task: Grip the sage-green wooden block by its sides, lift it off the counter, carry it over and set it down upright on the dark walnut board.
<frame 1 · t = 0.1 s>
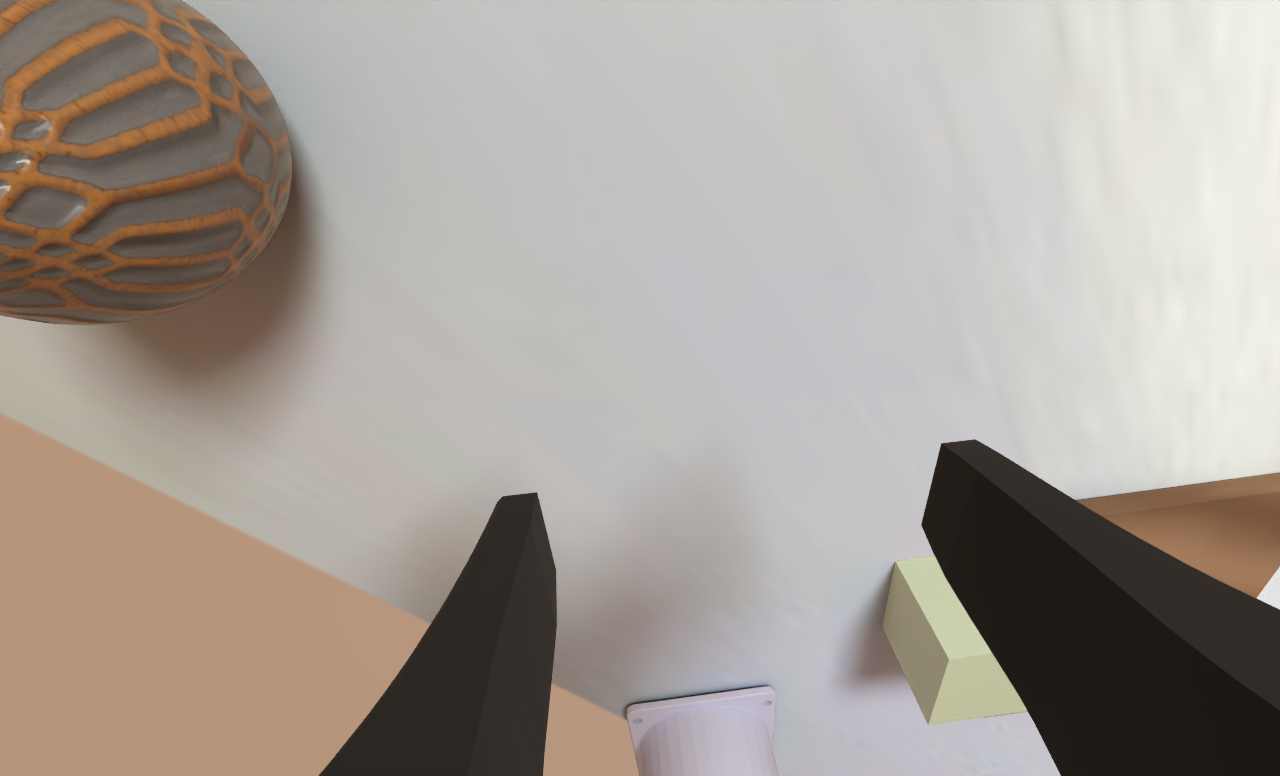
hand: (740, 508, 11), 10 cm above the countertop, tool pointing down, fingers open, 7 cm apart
sage block: (938, 587, 29), on the countertop
walnut board: (1121, 600, 31), on the countertop
vase: (189, 116, 16), on the countertop
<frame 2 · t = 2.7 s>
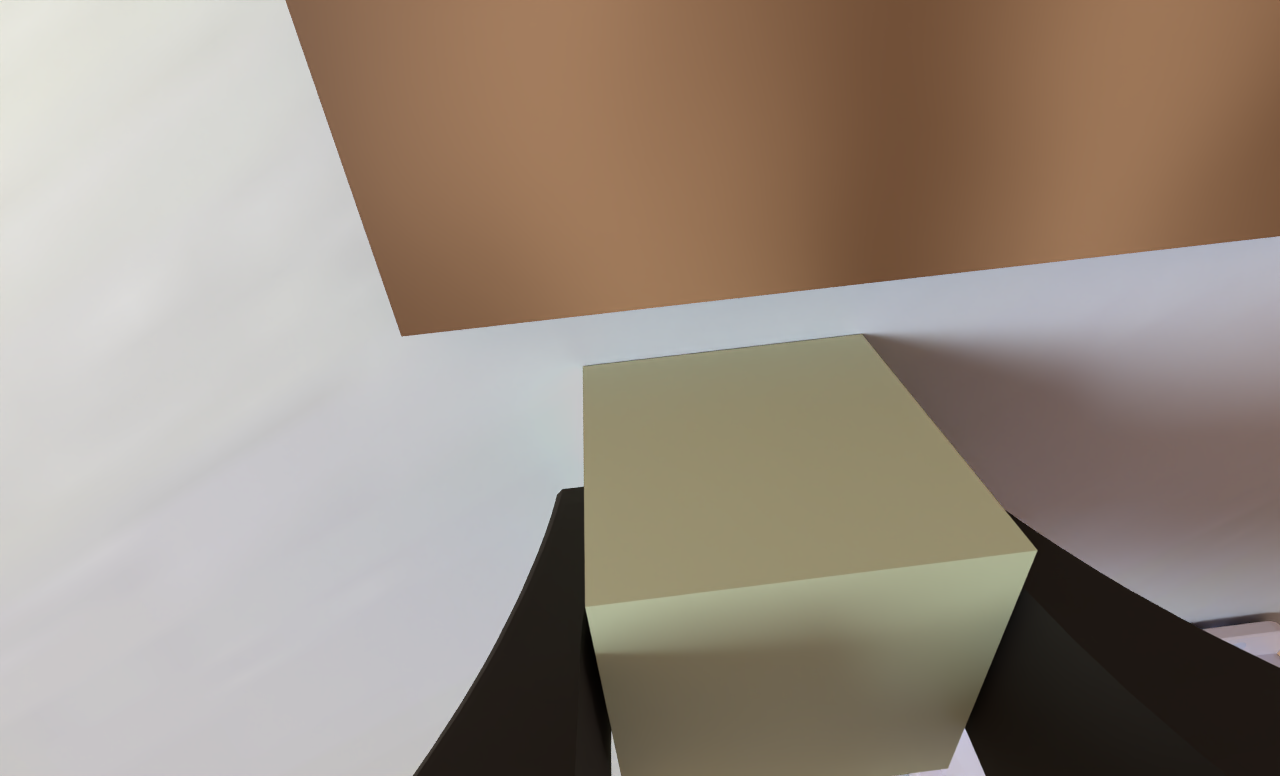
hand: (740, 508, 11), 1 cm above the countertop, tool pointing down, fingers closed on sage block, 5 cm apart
sage block: (724, 457, 12), on the countertop, touching gripper
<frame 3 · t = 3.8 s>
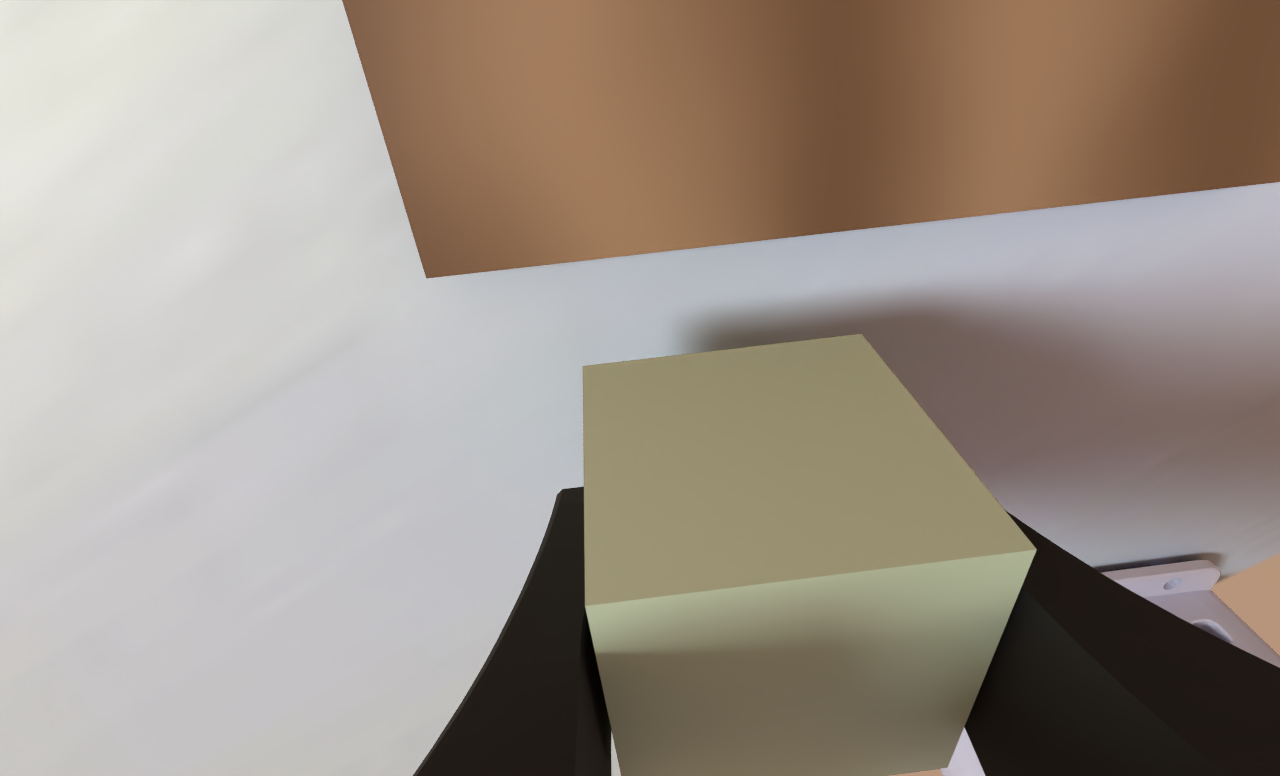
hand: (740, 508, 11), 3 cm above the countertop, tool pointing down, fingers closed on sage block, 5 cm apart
sage block: (723, 457, 12), point 2 cm above the countertop, touching gripper
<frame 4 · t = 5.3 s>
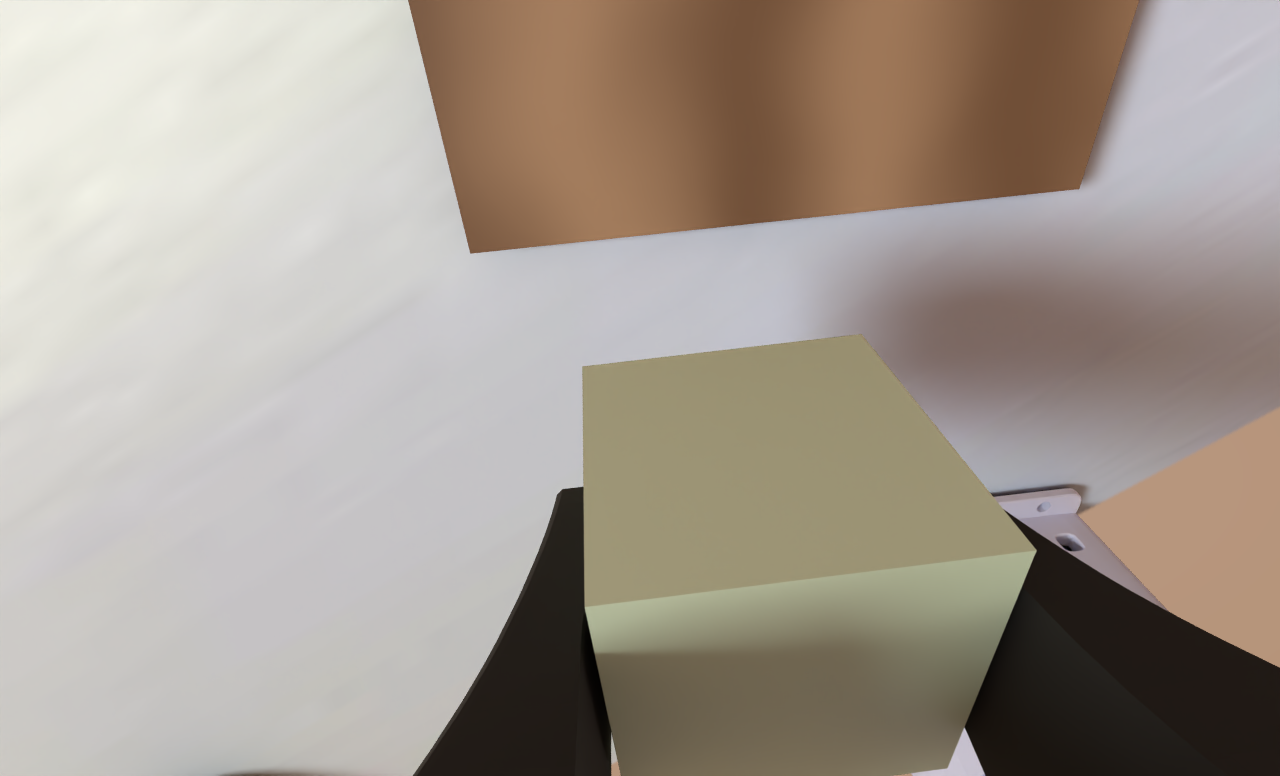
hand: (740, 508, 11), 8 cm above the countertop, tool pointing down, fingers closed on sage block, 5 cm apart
sage block: (723, 457, 12), point 7 cm above the countertop, touching gripper
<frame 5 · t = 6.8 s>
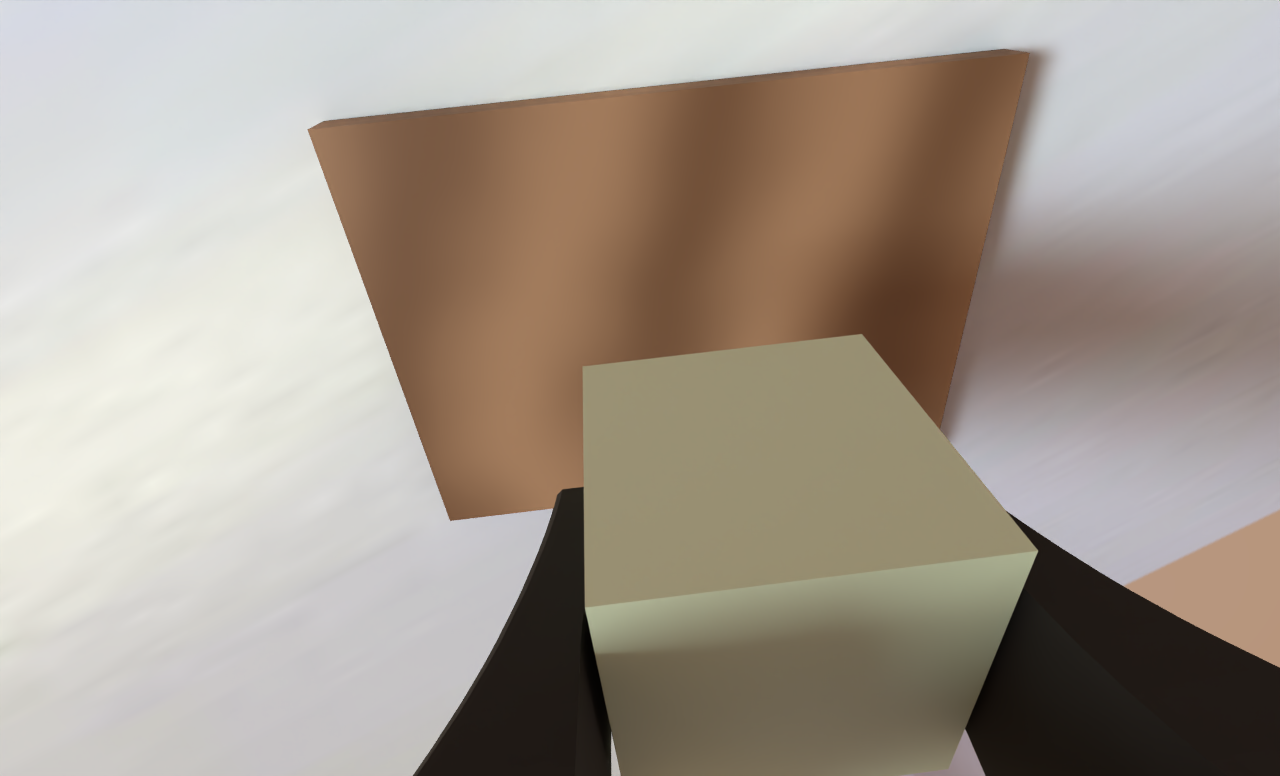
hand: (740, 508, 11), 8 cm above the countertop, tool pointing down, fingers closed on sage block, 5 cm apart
sage block: (724, 457, 12), point 6 cm above the countertop, touching gripper
walnut board: (680, 314, 18), on the countertop
when the fingers open (3 cm above the countertop, at t = 8.0 s): sage block stays where it is, resting on walnut board.
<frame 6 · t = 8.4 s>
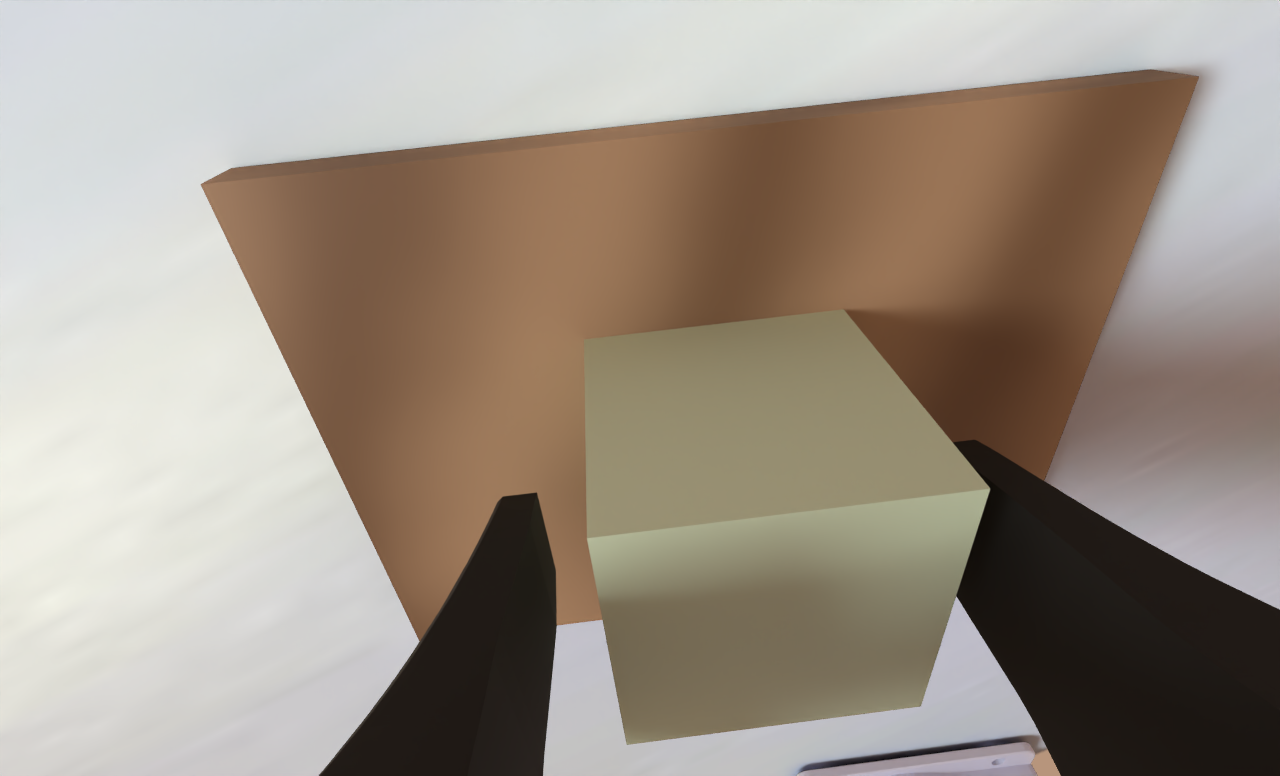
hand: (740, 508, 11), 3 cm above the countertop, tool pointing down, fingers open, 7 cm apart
sage block: (716, 427, 13), point 1 cm above the countertop, touching walnut board
walnut board: (707, 401, 14), on the countertop
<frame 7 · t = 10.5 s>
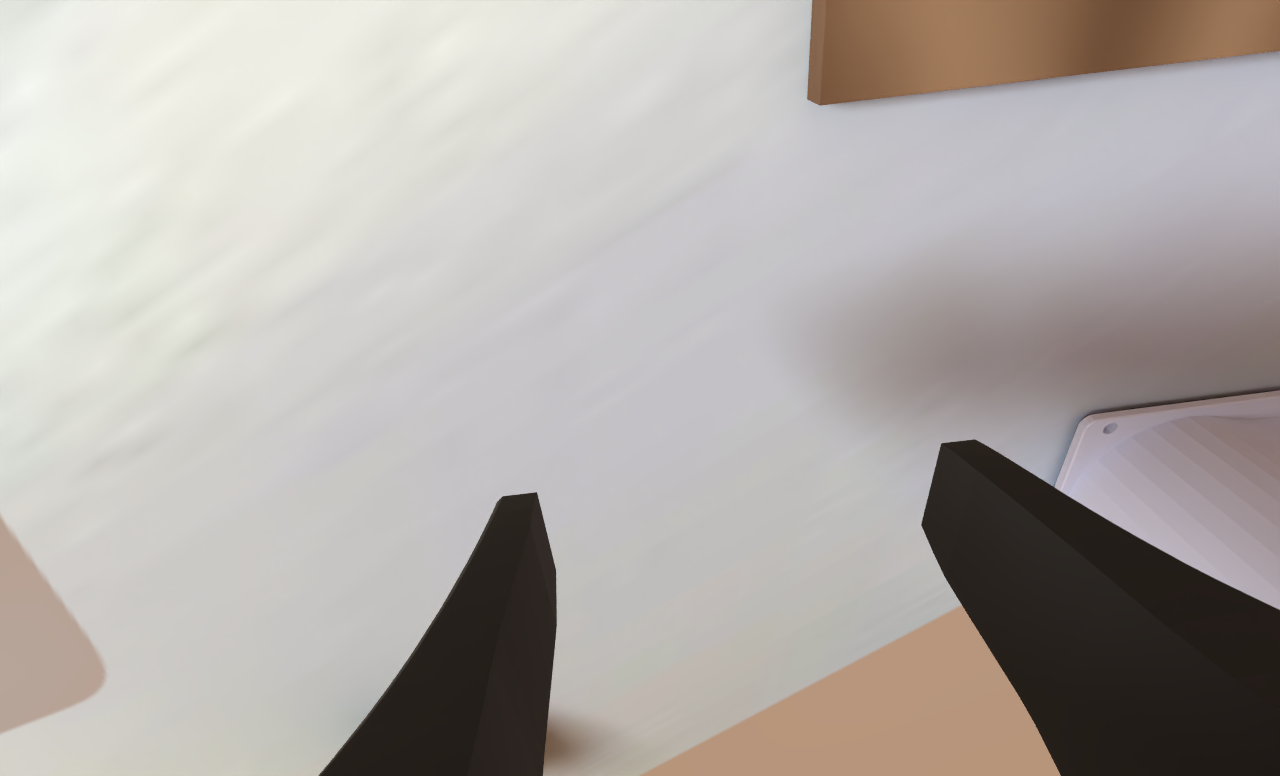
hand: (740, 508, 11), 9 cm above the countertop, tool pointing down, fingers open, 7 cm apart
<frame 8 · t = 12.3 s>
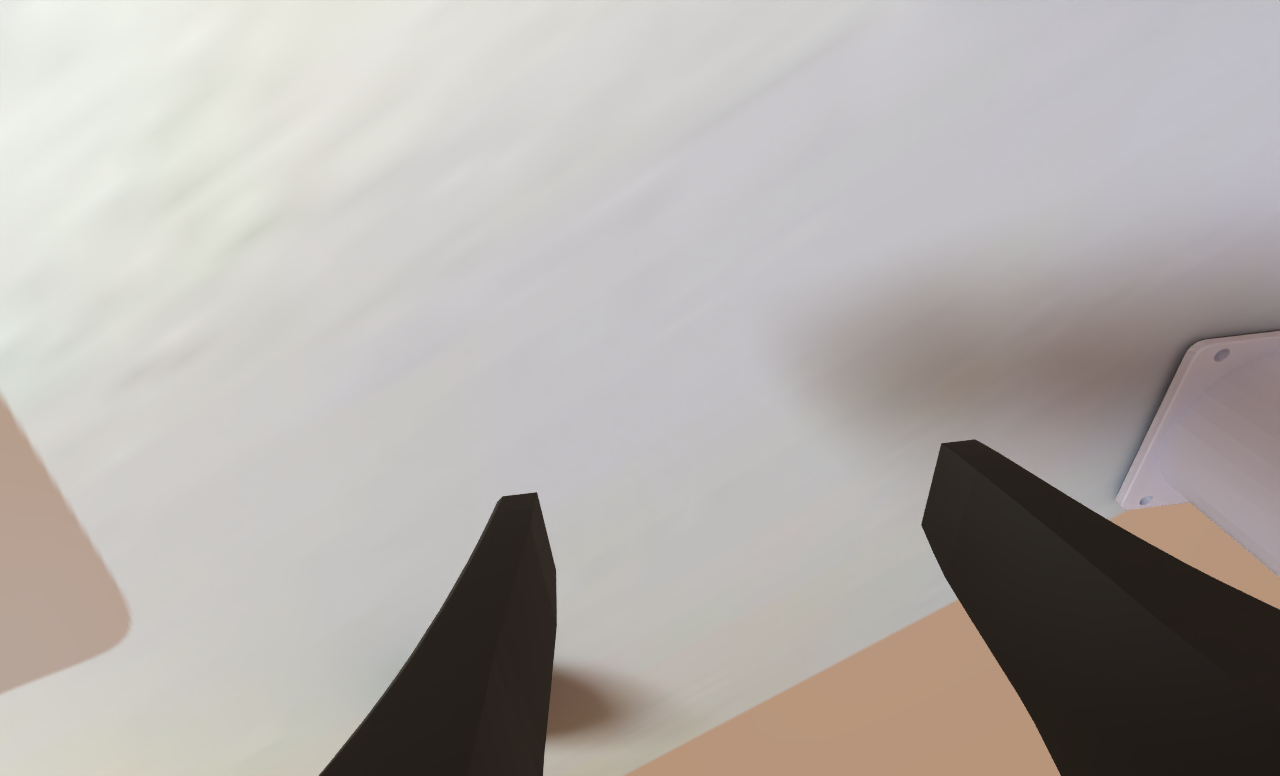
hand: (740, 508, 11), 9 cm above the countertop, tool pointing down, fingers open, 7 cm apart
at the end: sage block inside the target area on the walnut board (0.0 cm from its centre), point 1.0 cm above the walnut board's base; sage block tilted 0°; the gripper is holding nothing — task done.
